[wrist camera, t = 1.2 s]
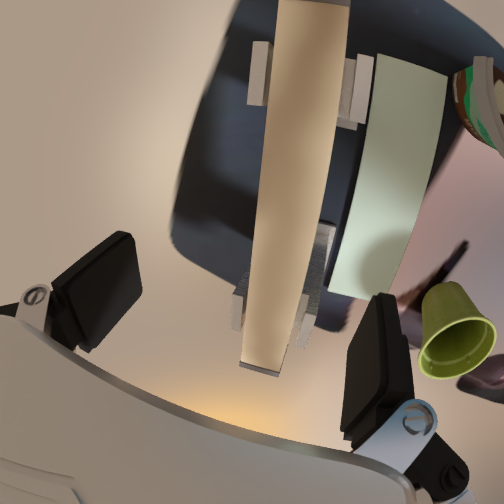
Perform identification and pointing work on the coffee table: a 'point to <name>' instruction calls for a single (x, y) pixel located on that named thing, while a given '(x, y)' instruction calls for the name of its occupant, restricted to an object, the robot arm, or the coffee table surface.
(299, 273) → the rail
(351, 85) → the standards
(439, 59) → the coffee table surface
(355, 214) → the mat
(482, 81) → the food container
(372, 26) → the coffee table surface
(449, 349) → the plant pot
